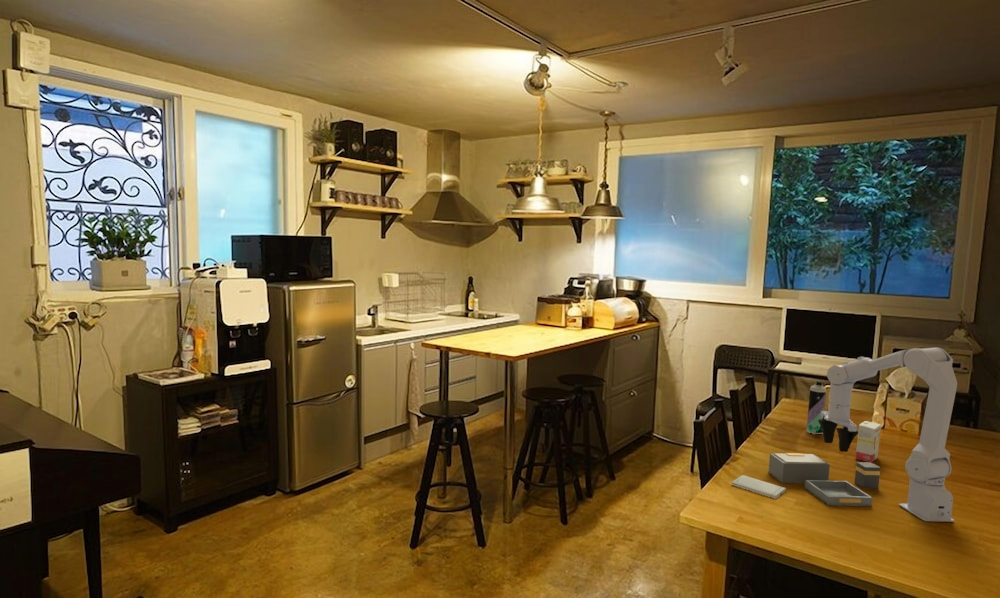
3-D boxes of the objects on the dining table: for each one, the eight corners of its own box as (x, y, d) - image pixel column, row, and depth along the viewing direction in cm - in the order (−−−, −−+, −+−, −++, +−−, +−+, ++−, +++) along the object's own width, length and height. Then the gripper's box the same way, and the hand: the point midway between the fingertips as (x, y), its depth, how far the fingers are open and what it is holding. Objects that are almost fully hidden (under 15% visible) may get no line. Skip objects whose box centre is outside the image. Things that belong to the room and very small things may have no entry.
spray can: (803, 430, 222) (807, 380, 220) (814, 429, 224) (818, 379, 222) (814, 435, 217) (819, 383, 215) (826, 434, 219) (830, 382, 217)
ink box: (871, 463, 189) (875, 428, 188) (854, 459, 193) (857, 425, 191) (878, 457, 195) (881, 423, 194) (861, 453, 198) (865, 420, 197)
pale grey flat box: (828, 483, 171) (829, 462, 170) (782, 482, 170) (783, 461, 170) (812, 472, 179) (813, 452, 178) (768, 472, 178) (769, 451, 178)
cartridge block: (878, 489, 168) (880, 467, 168) (863, 488, 168) (865, 467, 168) (869, 483, 172) (871, 462, 172) (854, 483, 172) (856, 462, 172)
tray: (871, 506, 156) (872, 497, 156) (828, 505, 156) (828, 496, 156) (845, 488, 168) (846, 480, 167) (804, 488, 167) (805, 480, 167)
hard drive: (731, 481, 167) (776, 495, 159) (742, 474, 173) (786, 487, 164) (731, 487, 167) (775, 501, 159) (742, 479, 173) (786, 492, 165)
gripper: (813, 397, 183) (809, 438, 184) (841, 410, 169) (837, 455, 170) (834, 397, 183) (831, 439, 185) (865, 410, 169) (860, 455, 170)
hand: (835, 446), depth 177 cm, fingers open, 7 cm apart
